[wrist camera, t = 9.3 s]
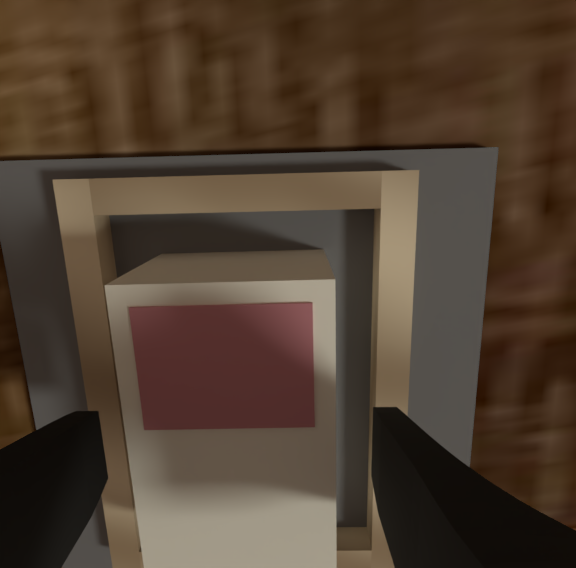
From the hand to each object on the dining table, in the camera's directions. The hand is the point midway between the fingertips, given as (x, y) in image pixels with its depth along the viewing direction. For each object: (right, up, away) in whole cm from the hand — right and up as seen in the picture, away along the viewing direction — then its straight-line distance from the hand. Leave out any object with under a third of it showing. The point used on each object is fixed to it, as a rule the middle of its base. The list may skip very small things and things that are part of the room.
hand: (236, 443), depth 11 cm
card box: (0, +1, +3) cm, 3 cm away
